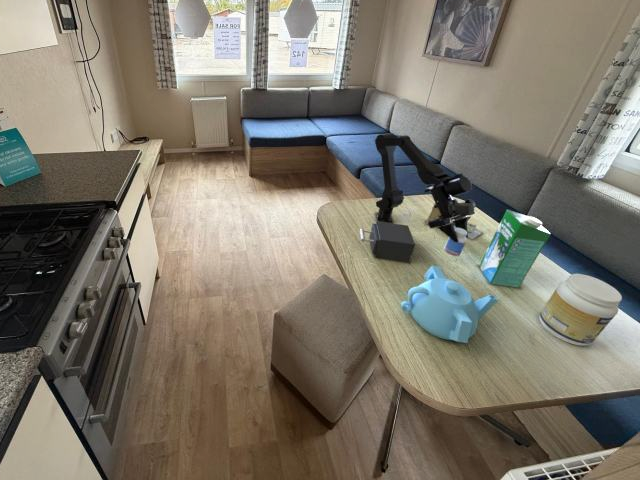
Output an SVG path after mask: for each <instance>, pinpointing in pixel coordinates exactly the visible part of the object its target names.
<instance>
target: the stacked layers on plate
mask: <svg viewBox="0 0 640 480" xmlns="http://www.w3.org/2000/svg"><path fill="white" fill-rule="evenodd" d="M467 217H469V215H467ZM478 223H479V220H478V219H477V218H474V217H471V218H469V220H468V222H467V231H468V238H467V239H471V240H474V239H476V238H477V237H478V236H480V235H482V234H483V232H482V231H479V230H477V229H476V228H477V226H478ZM455 228H456V227H455V225H454V230H455Z"/></svg>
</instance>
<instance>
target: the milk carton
mask: <svg viewBox="0 0 640 480" xmlns="http://www.w3.org/2000/svg"><path fill="white" fill-rule="evenodd" d="M543 224H544V223H543V222H542V221H541V220H540V219H538V218H536V217H534V216H531V215H525V214H522V213H519V212H517V211H513V210H511V209H506V210H505V213H503V217H502V218H501V220H500V222H499V224H498V226H497V229H496V230H495V233H494V235H493V237H492V239H491V241H490V243H489V245H488V247H487V249H486V251H485V253H484V255H483V257H482V259H481V262H480V264H479V268H480V270H481V271H482V273H483V274H484V276H485V278H486V279H487V281H488V282H489V284H491V285H498V286H505V287H513V288H520V287H521V285H522V284H523V282H524V280H525V279H526V277H527V275H528V273H529V272H530V270H531V269H532V267H533V265H534V263H535V262H536V260H537V258H538V257H539V255H540V253H541V251H542V249H543V248H544V246H545V244H546V243H547V242H548V239H549V238H550V236H551V232H549V230H547V229H546V227H544V226H543Z"/></svg>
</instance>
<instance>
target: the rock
mask: <svg viewBox="0 0 640 480" xmlns="http://www.w3.org/2000/svg"><path fill="white" fill-rule="evenodd" d="M435 205H436V203H435V202H434V204H433V205H432V207H431V211H430V214H429V215H428V216H427V217H428V218H427V219H426V221H425V224H426V225H427V226H429V225H428V223H429V221H430V220H433V219H436V218H439V216H440V212H439V210H438V208H434V206H435ZM452 221H453V220H451V222H452Z"/></svg>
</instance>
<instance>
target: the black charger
mask: <svg viewBox="0 0 640 480" xmlns="http://www.w3.org/2000/svg"><path fill="white" fill-rule="evenodd" d="M375 224H376V227H377V232H378V235H379V244H378V247H377V251H376V255H374V258H375V259H383V260H388V261H394V262H399V263H406V264H410V262H411V260H412V259H411V258H412V255H413V253H414V250H415V246H416V243H415V240H414V237H413V235H412V232H411V230H410V226H409V225H407V224H401V223H393V222H392V223H391V222H384V221H378V220H376V221H375Z"/></svg>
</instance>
